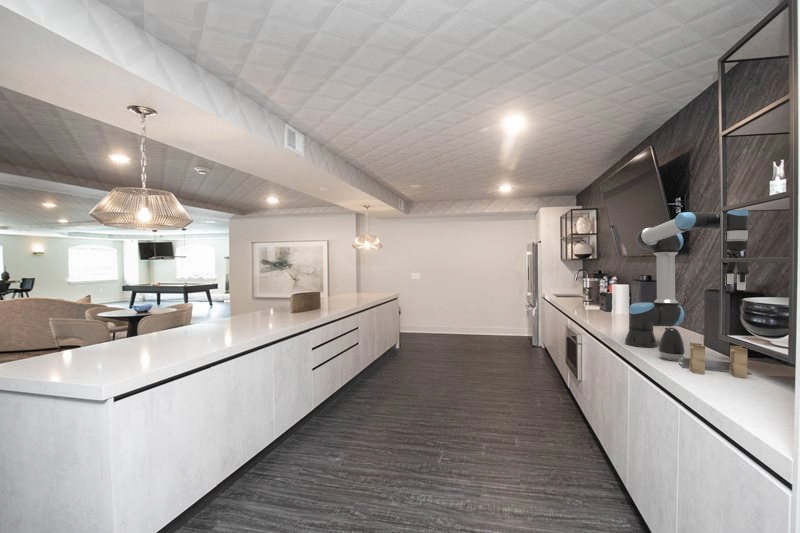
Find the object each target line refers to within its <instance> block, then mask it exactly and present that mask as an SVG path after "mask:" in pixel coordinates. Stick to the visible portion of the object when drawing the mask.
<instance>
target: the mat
mask: <svg viewBox="0 0 800 533" xmlns="http://www.w3.org/2000/svg"><path fill="white" fill-rule="evenodd" d="M678 365H679V366H680V367H681V368H682V369H687V370H688V369H689V367H688V366H684V365H683V363H680V362H679V363H678ZM705 371H711V372H720V373H721V372H723V373H729V371H730V370H720V369H710V368H705ZM747 375H753V373H752V372H750V371H749V370H747Z"/></svg>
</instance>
